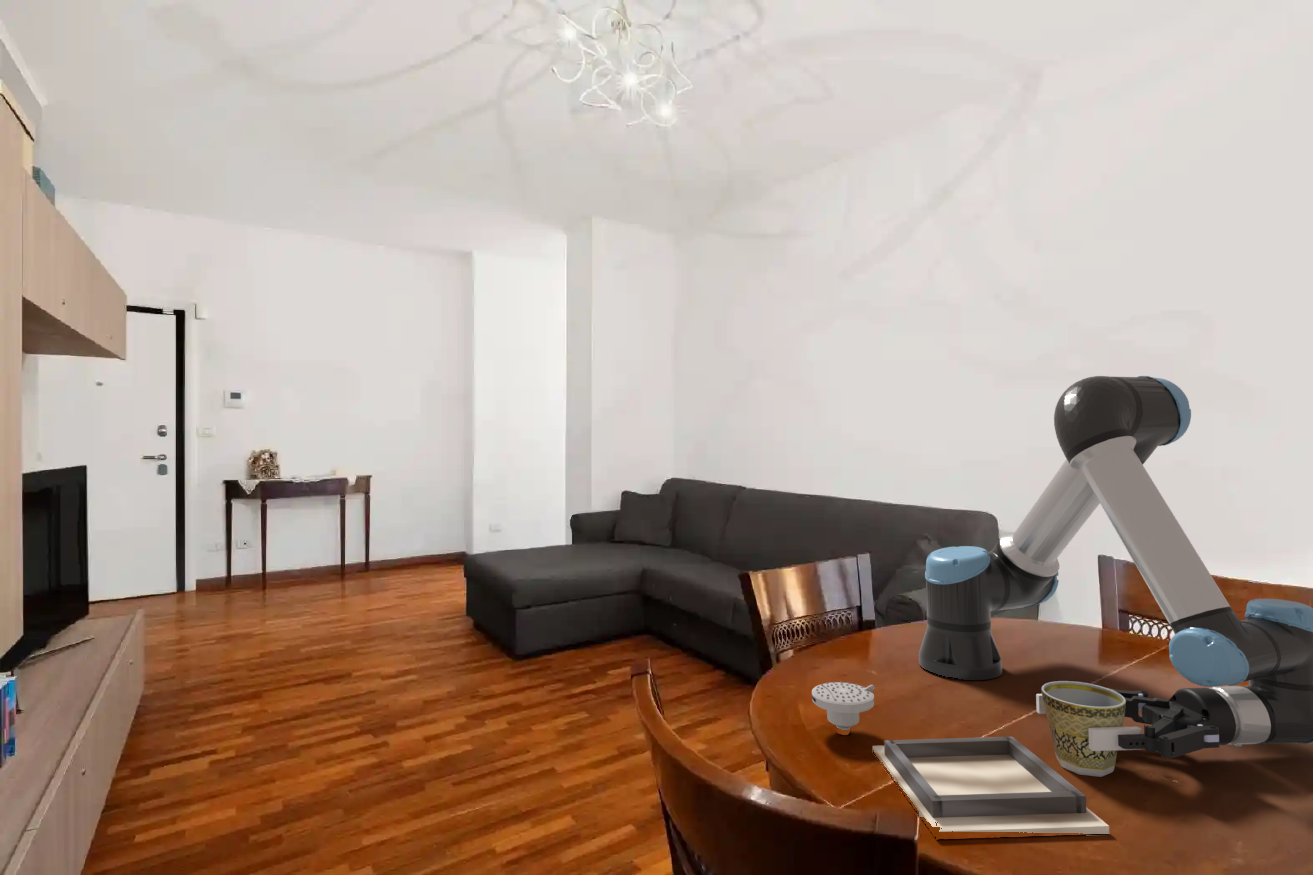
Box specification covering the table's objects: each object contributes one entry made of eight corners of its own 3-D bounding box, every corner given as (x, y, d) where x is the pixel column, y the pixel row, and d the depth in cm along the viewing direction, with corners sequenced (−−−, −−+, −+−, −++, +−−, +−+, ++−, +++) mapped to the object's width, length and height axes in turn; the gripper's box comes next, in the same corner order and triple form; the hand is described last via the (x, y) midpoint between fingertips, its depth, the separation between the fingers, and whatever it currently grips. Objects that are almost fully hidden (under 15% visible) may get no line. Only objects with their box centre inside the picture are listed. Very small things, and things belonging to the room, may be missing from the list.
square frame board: (872, 752, 100) (872, 732, 100) (1007, 748, 100) (1007, 727, 100) (936, 840, 78) (935, 813, 78) (1109, 834, 78) (1108, 808, 78)
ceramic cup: (1100, 790, 88) (1098, 712, 88) (1027, 759, 97) (1025, 688, 97) (1155, 766, 94) (1153, 693, 94) (1082, 738, 103) (1080, 672, 103)
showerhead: (887, 695, 103) (822, 699, 102) (888, 743, 103) (824, 748, 102) (863, 674, 112) (803, 677, 111) (864, 718, 112) (805, 722, 111)
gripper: (1298, 785, 84) (1122, 790, 83) (1154, 709, 108) (1017, 713, 107) (1296, 724, 84) (1120, 729, 84) (1152, 661, 108) (1015, 665, 107)
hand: (1062, 720), depth 95 cm, fingers open, 11 cm apart
